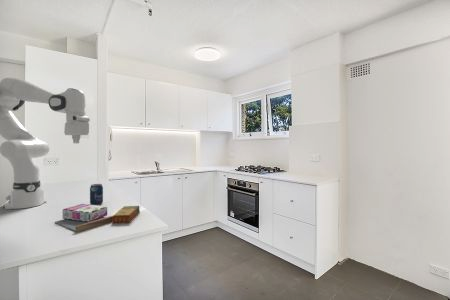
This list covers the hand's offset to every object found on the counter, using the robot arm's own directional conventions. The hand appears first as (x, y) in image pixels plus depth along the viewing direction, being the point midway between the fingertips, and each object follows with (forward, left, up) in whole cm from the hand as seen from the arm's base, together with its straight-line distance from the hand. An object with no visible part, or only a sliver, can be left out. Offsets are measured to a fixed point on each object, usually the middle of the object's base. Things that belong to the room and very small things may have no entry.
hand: (76, 143), depth 122 cm
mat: (+23, -7, -37) cm, 44 cm away
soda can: (-3, +13, -38) cm, 40 cm away
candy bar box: (+11, -7, -34) cm, 37 cm away
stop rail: (+33, -7, -37) cm, 50 cm away
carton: (+34, +8, -38) cm, 52 cm away
